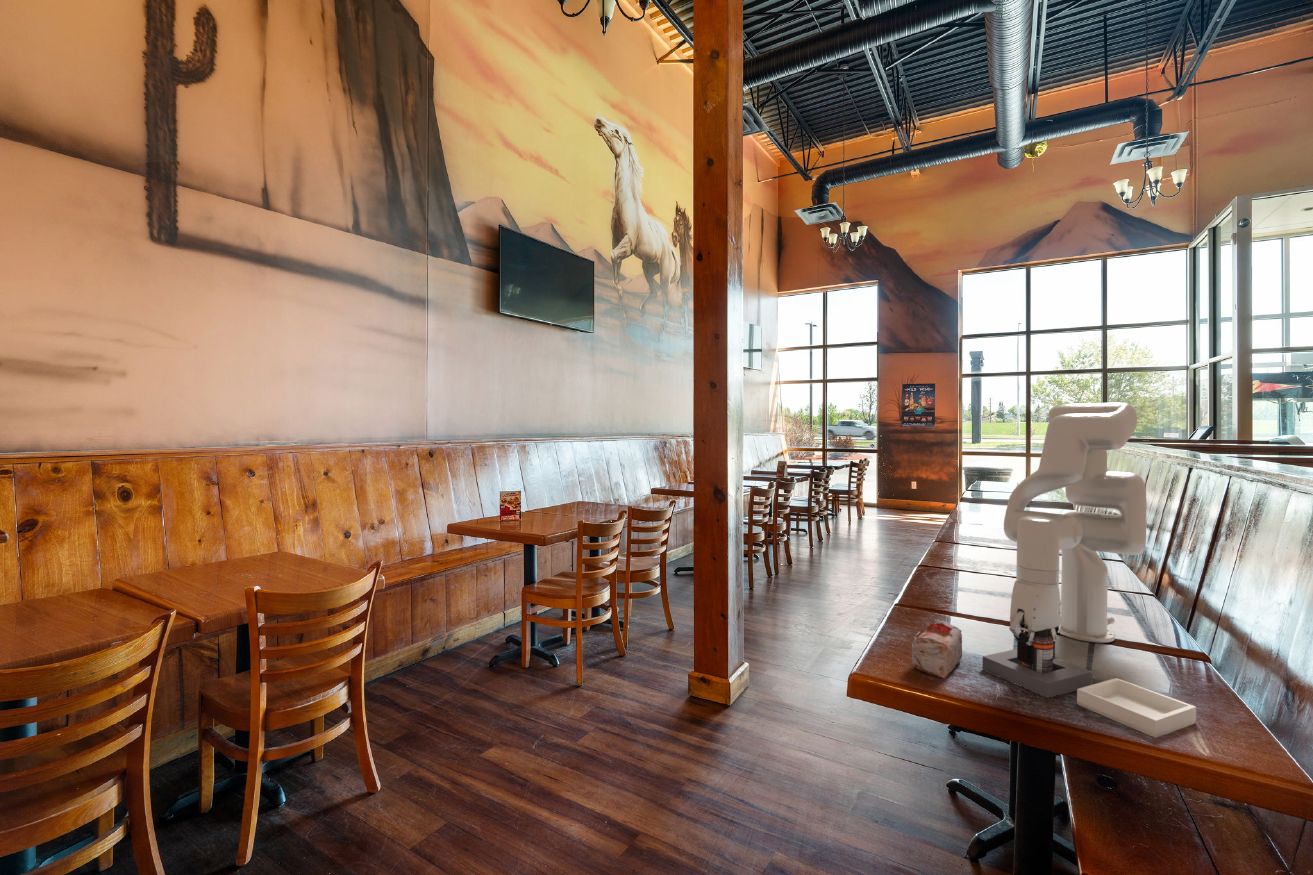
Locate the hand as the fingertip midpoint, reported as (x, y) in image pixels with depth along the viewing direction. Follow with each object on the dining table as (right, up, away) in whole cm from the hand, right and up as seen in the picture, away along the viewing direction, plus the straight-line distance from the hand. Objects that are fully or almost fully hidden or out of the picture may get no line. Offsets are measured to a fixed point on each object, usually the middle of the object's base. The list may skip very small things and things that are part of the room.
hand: (1035, 658), depth 120 cm
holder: (0, -4, 0) cm, 4 cm away
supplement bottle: (0, -4, 0) cm, 4 cm away
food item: (-18, -4, +5) cm, 20 cm away
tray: (+8, -4, -15) cm, 18 cm away
